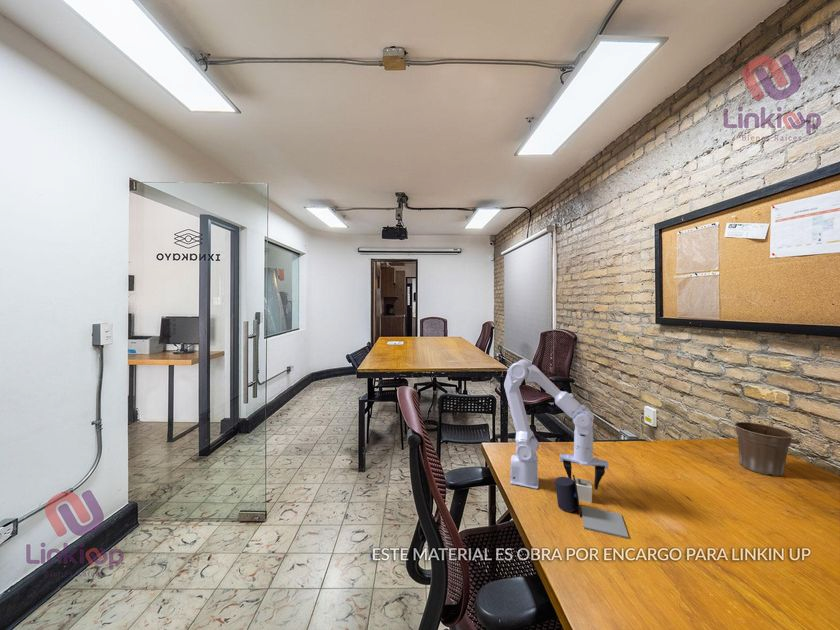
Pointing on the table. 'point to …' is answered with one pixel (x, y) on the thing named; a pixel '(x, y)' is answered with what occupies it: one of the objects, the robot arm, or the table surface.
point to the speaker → (567, 494)
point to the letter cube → (584, 490)
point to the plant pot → (763, 447)
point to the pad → (603, 521)
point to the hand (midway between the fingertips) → (583, 485)
